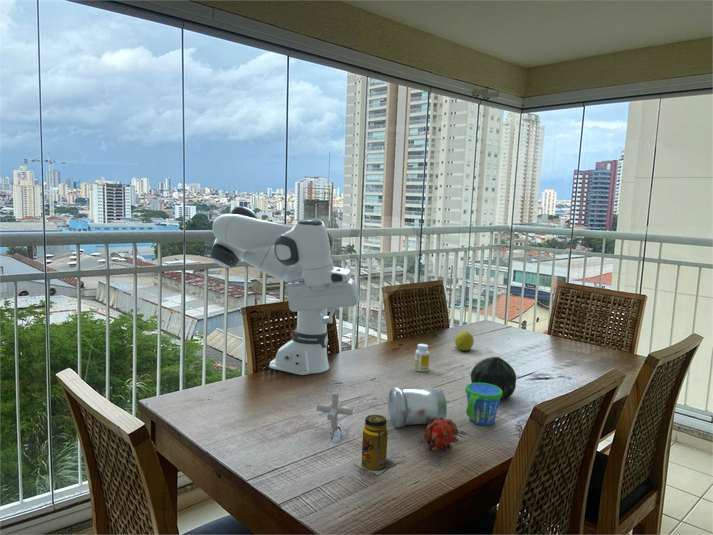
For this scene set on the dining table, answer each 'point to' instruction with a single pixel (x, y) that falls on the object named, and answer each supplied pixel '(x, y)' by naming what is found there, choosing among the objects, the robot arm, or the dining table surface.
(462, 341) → the lemon
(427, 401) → the white flanged cylinder
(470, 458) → the dining table surface
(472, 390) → the snack cup
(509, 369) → the squash
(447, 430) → the dragon fruit
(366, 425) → the condiment
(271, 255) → the robot arm
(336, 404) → the pipe connector
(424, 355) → the supplement bottle
